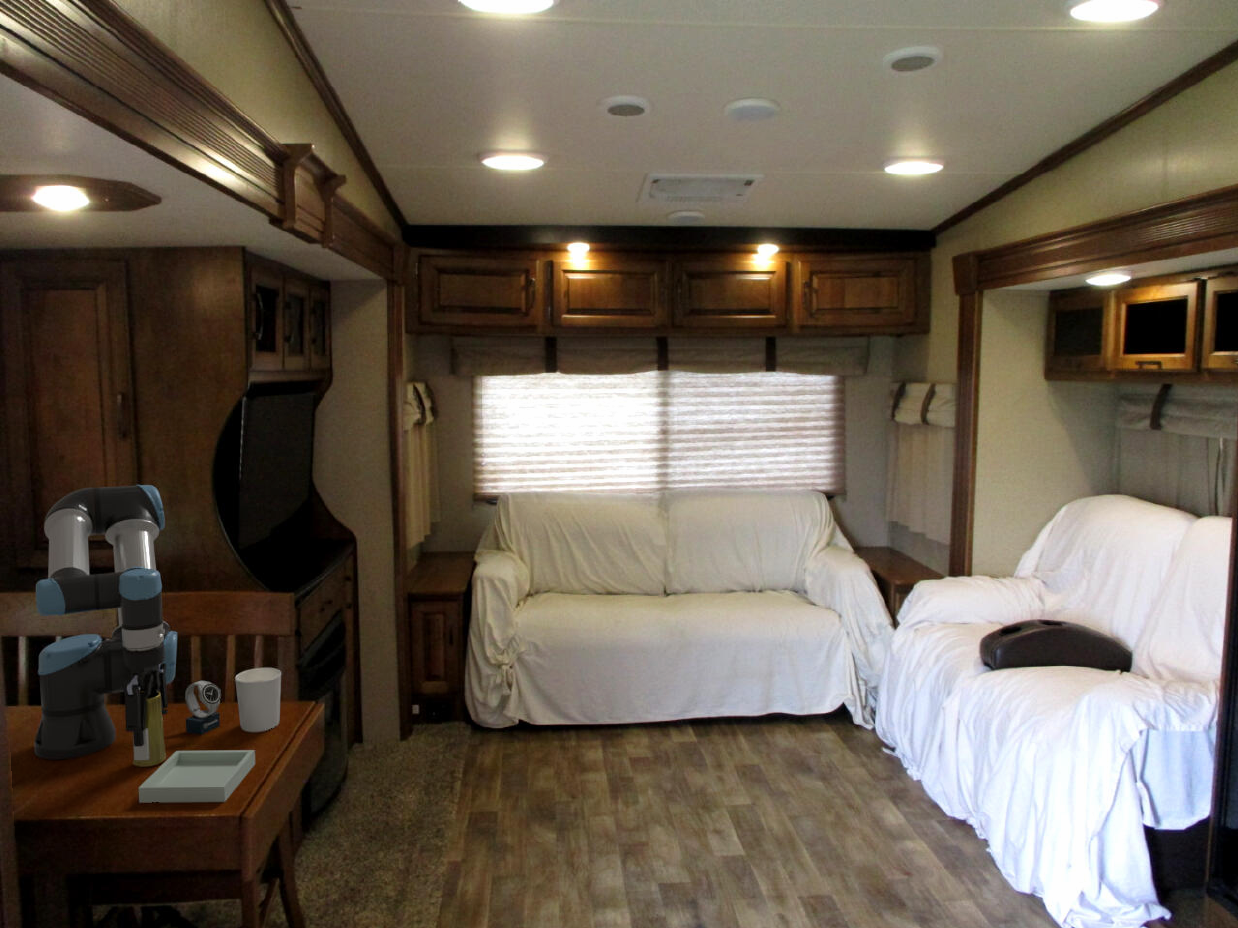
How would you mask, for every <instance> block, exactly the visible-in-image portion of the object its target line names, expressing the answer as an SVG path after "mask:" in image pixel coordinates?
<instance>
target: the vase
mask: <svg viewBox="0 0 1238 928" xmlns="http://www.w3.org/2000/svg"><path fill="white" fill-rule="evenodd" d="M143 692H145V691H143ZM156 693H157V694H156V695H155V696H152V697H151V696H148V699H147V714H146V726H145V728H148V738H149V757H150V758H149V759H148V760H134V759H133V762H132V763H133V765H134V766H137V767H141V768H146V767H153V766H156V765H159V764H160V763H162V762H163V763H164V762H165V760H167V753H166V745H165V737H164V736H165V735H164V720H163V721H162V716H163V714H162V708H161V693H160V692H158V691H157V692H156Z"/></svg>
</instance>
